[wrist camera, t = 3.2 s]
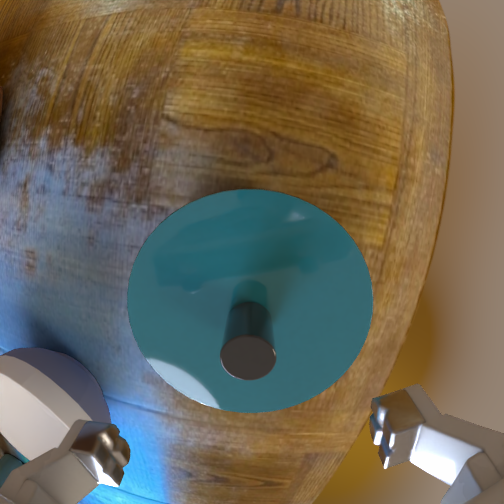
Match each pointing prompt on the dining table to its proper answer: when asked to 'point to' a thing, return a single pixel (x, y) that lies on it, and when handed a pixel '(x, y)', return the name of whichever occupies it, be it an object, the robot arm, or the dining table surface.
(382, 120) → the dining table surface
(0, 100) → the bread
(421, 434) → the robot arm
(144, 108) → the dining table surface
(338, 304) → the pot lid
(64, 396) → the bowl
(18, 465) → the flower pot
